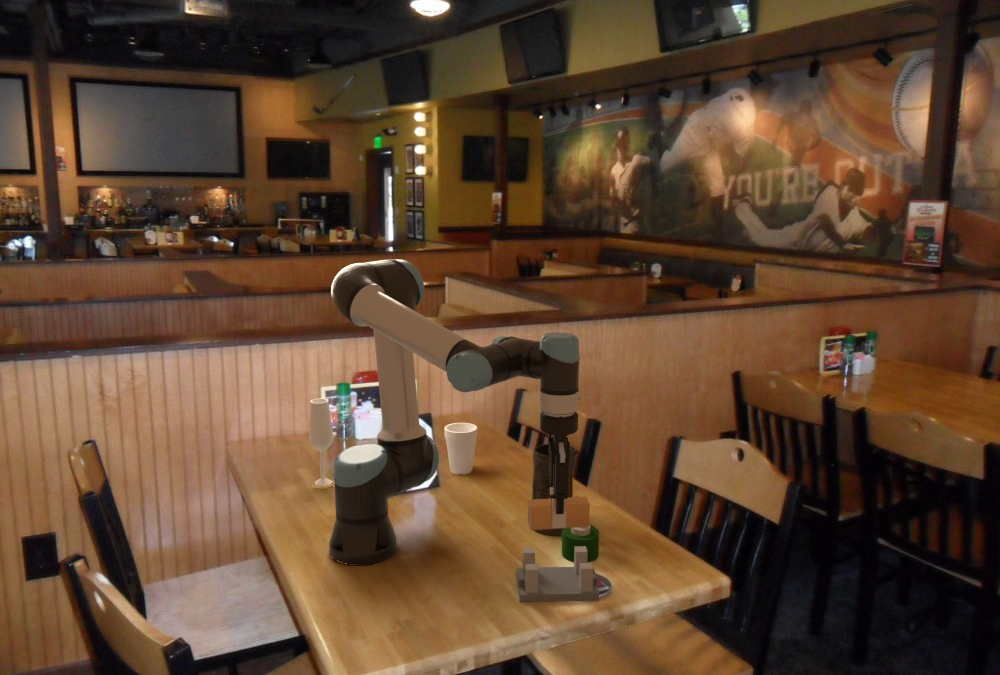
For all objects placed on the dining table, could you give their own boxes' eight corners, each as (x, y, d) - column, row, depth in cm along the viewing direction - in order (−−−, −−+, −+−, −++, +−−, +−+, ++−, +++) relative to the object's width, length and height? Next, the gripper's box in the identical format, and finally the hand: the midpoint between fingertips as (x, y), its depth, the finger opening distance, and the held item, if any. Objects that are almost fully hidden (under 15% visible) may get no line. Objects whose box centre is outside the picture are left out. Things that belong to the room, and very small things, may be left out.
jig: (519, 601, 154) (519, 571, 153) (516, 574, 165) (516, 546, 164) (599, 600, 155) (600, 570, 153) (590, 572, 166) (591, 544, 164)
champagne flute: (332, 489, 210) (328, 404, 205) (307, 489, 210) (303, 404, 205) (338, 480, 216) (334, 397, 211) (314, 479, 216) (310, 397, 212)
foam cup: (483, 468, 225) (483, 426, 222) (465, 479, 217) (465, 435, 215) (457, 462, 230) (456, 420, 227) (438, 472, 222) (437, 429, 220)
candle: (560, 545, 178) (561, 504, 176) (596, 546, 178) (598, 505, 176) (562, 562, 170) (563, 520, 168) (600, 563, 170) (601, 521, 168)
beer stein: (571, 538, 181) (574, 456, 178) (526, 534, 183) (528, 452, 180) (578, 515, 196) (580, 439, 193) (536, 512, 198) (538, 436, 195)
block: (530, 530, 155) (530, 506, 154) (528, 522, 158) (528, 499, 157) (589, 526, 156) (589, 503, 155) (585, 519, 159) (585, 496, 158)
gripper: (584, 424, 144) (581, 540, 149) (572, 399, 161) (570, 505, 165) (544, 424, 144) (543, 541, 148) (536, 400, 160) (535, 505, 165)
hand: (557, 522), depth 157 cm, fingers closed on block, 4 cm apart
